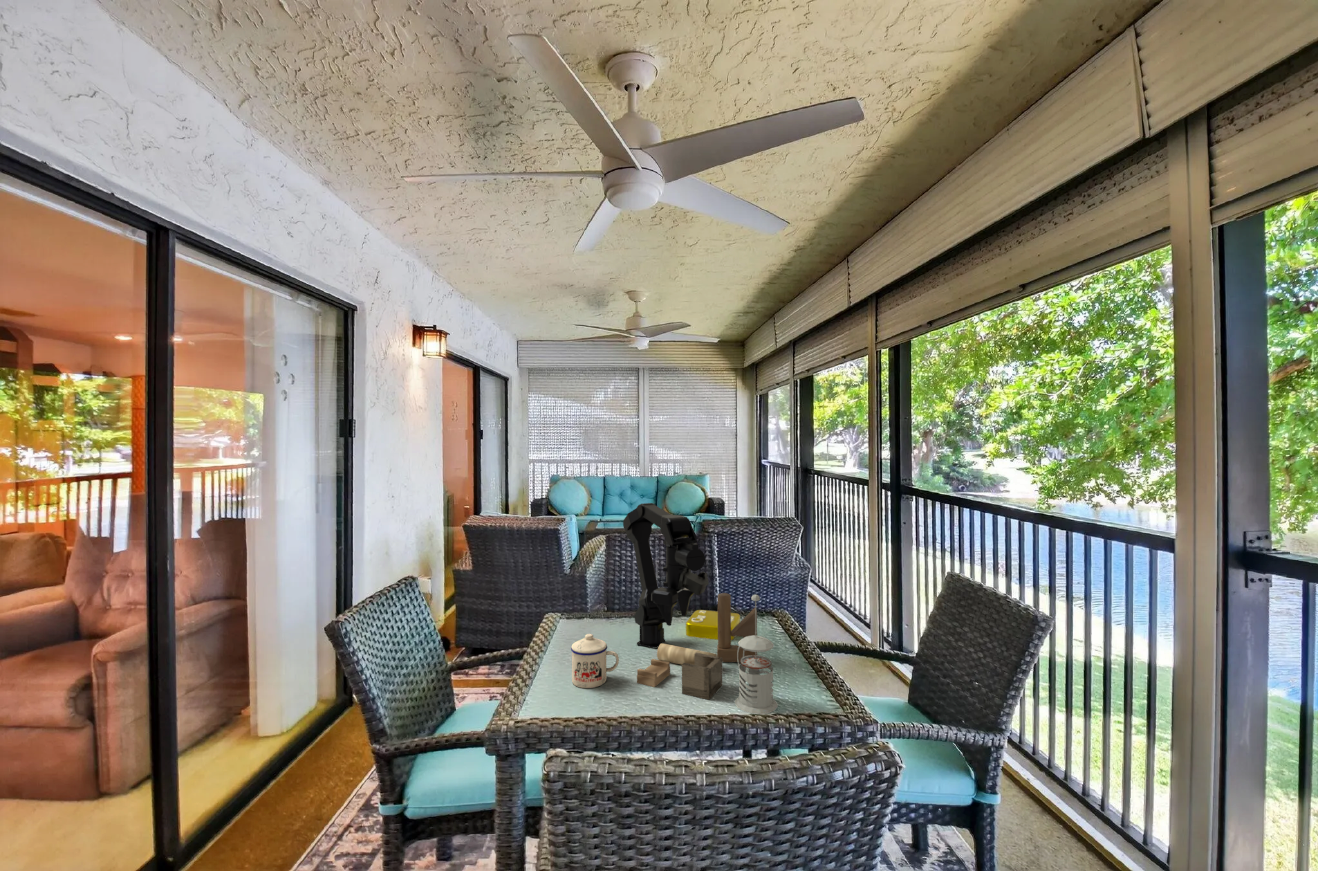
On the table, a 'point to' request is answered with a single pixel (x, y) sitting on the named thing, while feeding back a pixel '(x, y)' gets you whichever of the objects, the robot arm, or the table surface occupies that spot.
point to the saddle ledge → (653, 673)
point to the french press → (755, 675)
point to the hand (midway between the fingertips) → (676, 620)
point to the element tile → (707, 624)
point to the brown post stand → (725, 633)
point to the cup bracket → (702, 676)
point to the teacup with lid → (590, 662)
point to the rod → (678, 654)
